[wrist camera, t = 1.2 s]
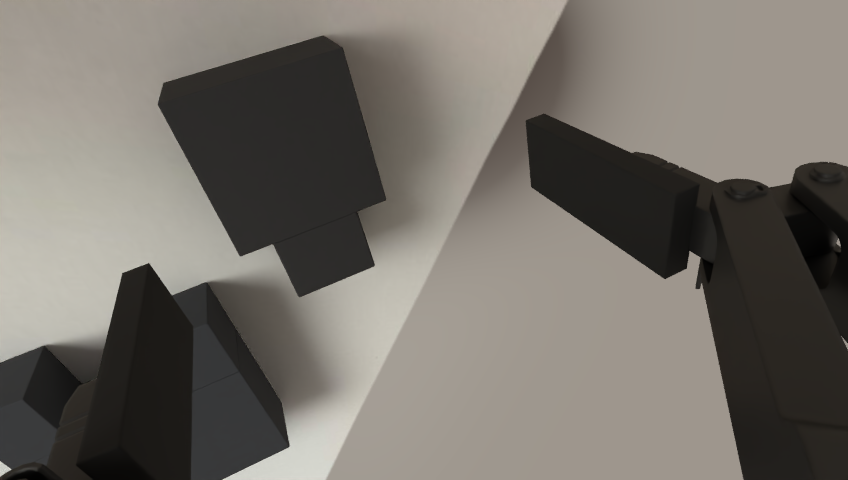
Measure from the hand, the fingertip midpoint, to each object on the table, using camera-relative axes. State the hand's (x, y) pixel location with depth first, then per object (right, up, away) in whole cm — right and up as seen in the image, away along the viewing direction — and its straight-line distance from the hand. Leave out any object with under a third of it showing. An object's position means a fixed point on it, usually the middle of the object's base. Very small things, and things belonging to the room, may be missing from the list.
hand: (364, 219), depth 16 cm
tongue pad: (-6, +4, +11) cm, 12 cm away
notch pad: (-15, -10, +14) cm, 23 cm away
